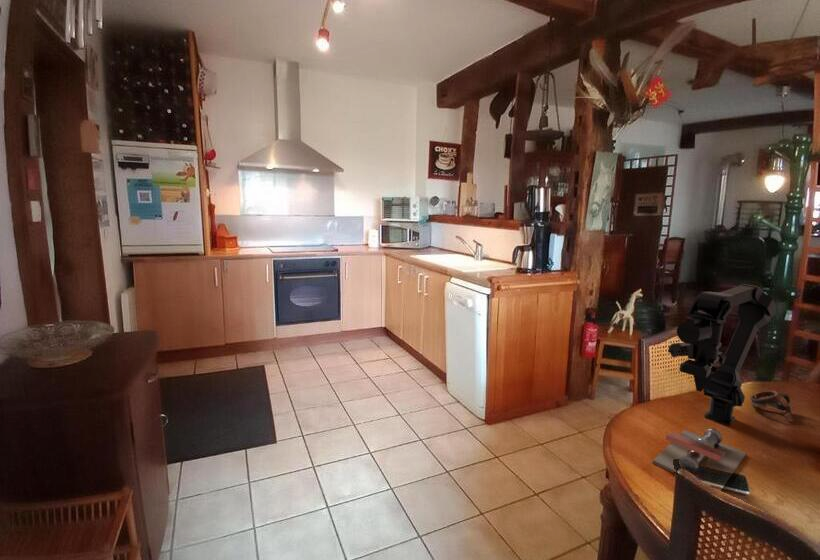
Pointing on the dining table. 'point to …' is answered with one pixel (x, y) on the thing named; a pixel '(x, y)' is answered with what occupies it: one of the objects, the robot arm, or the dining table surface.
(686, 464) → the pipe and valve
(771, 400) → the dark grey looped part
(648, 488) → the dining table surface
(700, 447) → the valve lever
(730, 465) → the mounting board
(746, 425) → the dining table surface
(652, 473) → the dining table surface
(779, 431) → the dining table surface
